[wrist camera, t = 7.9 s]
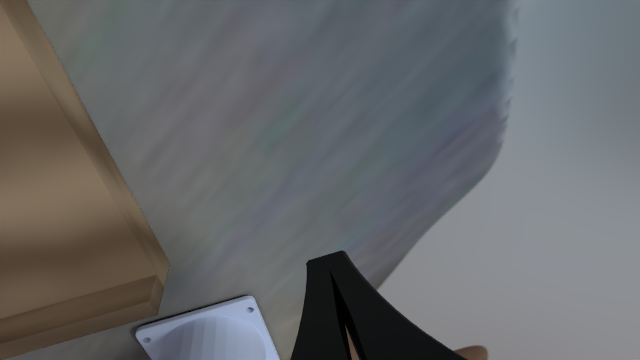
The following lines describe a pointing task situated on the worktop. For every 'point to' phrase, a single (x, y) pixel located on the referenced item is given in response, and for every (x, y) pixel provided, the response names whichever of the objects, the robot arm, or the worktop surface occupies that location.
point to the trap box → (62, 207)
